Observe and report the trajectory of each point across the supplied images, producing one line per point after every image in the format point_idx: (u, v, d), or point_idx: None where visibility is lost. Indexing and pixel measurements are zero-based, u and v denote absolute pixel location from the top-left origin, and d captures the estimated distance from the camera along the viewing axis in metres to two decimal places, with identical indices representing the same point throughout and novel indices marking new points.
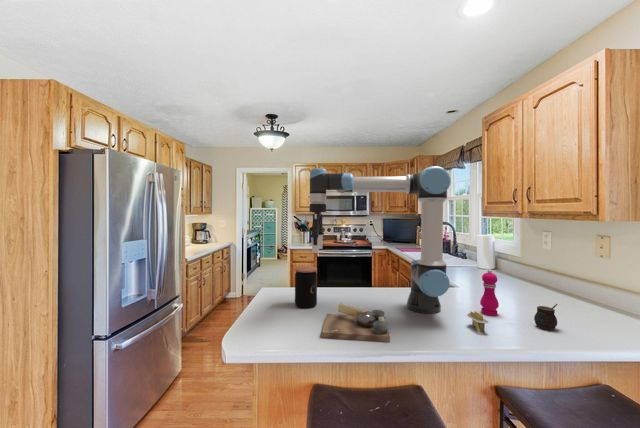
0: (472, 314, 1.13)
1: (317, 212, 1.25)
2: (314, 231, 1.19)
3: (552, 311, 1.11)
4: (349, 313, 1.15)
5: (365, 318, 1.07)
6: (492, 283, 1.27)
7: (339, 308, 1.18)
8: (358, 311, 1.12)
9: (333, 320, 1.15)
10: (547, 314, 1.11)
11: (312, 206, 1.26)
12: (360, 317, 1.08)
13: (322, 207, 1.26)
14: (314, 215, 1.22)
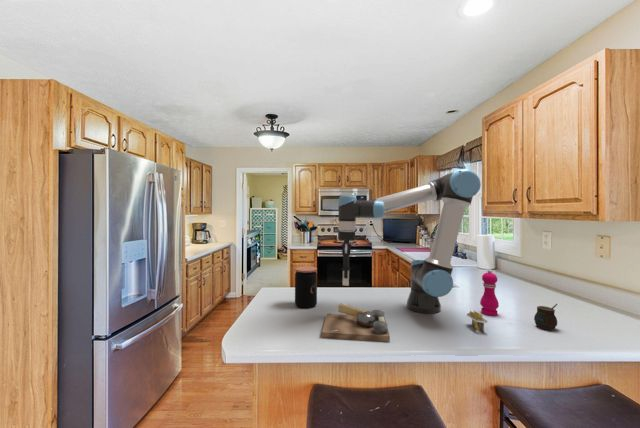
0: (471, 314, 1.14)
1: (347, 241, 1.21)
2: (345, 266, 1.21)
3: (552, 311, 1.11)
4: (349, 313, 1.15)
5: (365, 318, 1.07)
6: (492, 283, 1.27)
7: (339, 308, 1.18)
8: (358, 311, 1.12)
9: (333, 320, 1.15)
10: (547, 314, 1.11)
11: (341, 234, 1.22)
12: (360, 317, 1.08)
13: (352, 235, 1.21)
14: (344, 250, 1.18)
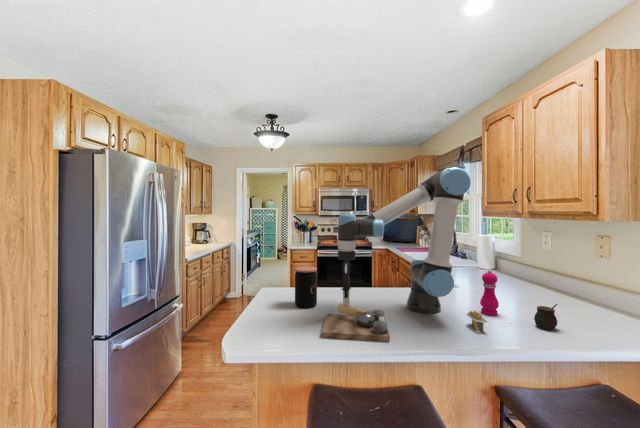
0: (471, 313, 1.14)
1: (347, 261, 1.20)
2: (345, 286, 1.20)
3: (552, 311, 1.11)
4: (349, 313, 1.15)
5: (365, 318, 1.07)
6: (492, 283, 1.27)
7: (339, 308, 1.18)
8: (358, 311, 1.12)
9: (333, 320, 1.15)
10: (547, 314, 1.11)
11: (341, 254, 1.21)
12: (360, 317, 1.08)
13: (352, 255, 1.21)
14: (344, 271, 1.18)
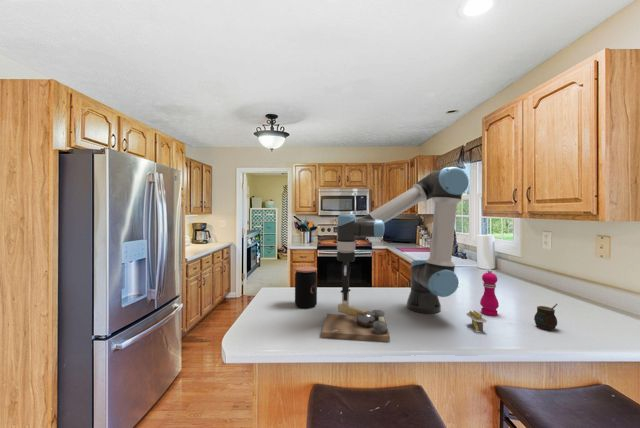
0: (471, 313, 1.14)
1: (346, 262, 1.16)
2: (344, 288, 1.16)
3: (552, 311, 1.11)
4: (349, 313, 1.15)
5: (365, 318, 1.07)
6: (492, 283, 1.27)
7: (339, 308, 1.18)
8: (358, 311, 1.12)
9: (333, 320, 1.15)
10: (547, 314, 1.11)
11: (340, 255, 1.17)
12: (360, 317, 1.08)
13: (352, 256, 1.16)
14: (343, 273, 1.14)
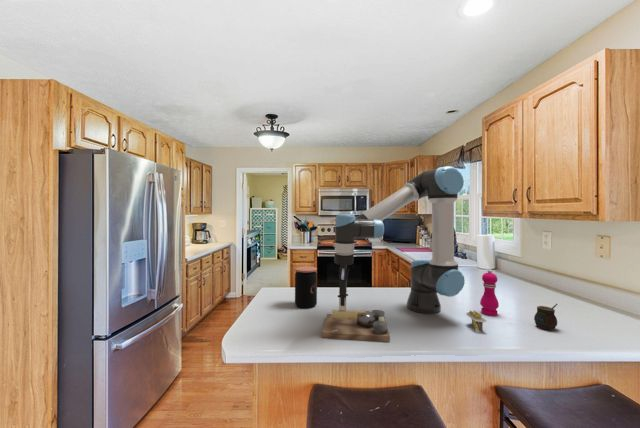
0: (471, 313, 1.15)
1: (344, 265, 1.08)
2: (342, 293, 1.09)
3: (552, 311, 1.11)
4: (347, 317, 1.10)
5: (371, 318, 1.08)
6: (492, 283, 1.27)
7: (334, 315, 1.11)
8: (358, 313, 1.10)
9: (333, 320, 1.15)
10: (547, 314, 1.11)
11: (338, 258, 1.09)
12: (366, 318, 1.07)
13: (350, 259, 1.09)
14: (341, 277, 1.06)
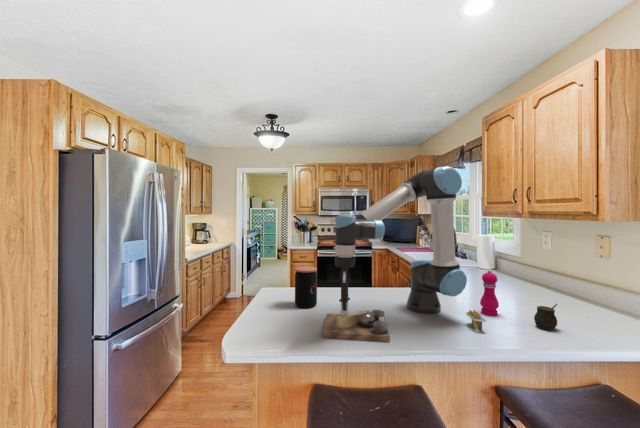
0: (471, 313, 1.15)
1: (345, 268, 1.04)
2: (344, 297, 1.04)
3: (552, 311, 1.11)
4: (352, 321, 1.06)
5: (374, 316, 1.09)
6: (492, 283, 1.27)
7: (340, 322, 1.04)
8: (361, 314, 1.09)
9: (333, 320, 1.15)
10: (547, 314, 1.11)
11: (339, 260, 1.05)
12: (371, 318, 1.08)
13: (351, 262, 1.05)
14: (342, 280, 1.02)
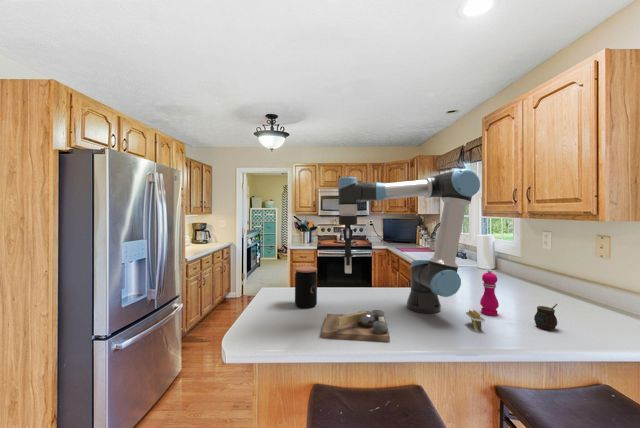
0: (470, 312, 1.15)
1: (348, 225, 1.13)
2: (347, 252, 1.13)
3: (552, 311, 1.11)
4: (352, 321, 1.06)
5: (374, 316, 1.09)
6: (492, 283, 1.27)
7: (340, 322, 1.04)
8: (361, 314, 1.09)
9: (333, 320, 1.15)
10: (547, 314, 1.11)
11: (342, 218, 1.14)
12: (371, 318, 1.08)
13: (354, 219, 1.14)
14: (346, 235, 1.11)
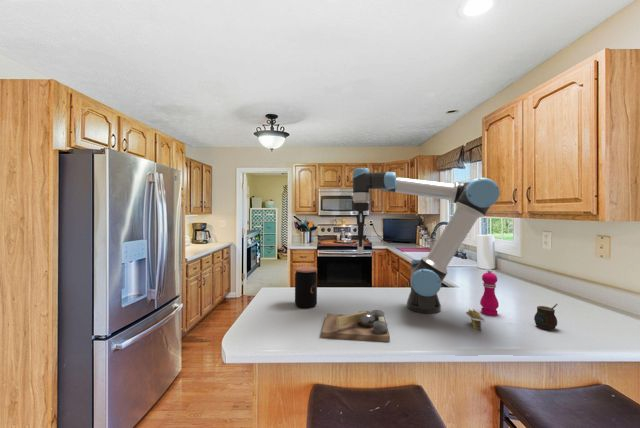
0: (470, 312, 1.16)
1: (361, 211, 1.28)
2: (360, 234, 1.28)
3: (552, 311, 1.11)
4: (352, 321, 1.06)
5: (374, 316, 1.09)
6: (492, 283, 1.27)
7: (340, 322, 1.04)
8: (361, 314, 1.09)
9: (333, 320, 1.15)
10: (547, 314, 1.11)
11: (356, 205, 1.29)
12: (371, 318, 1.08)
13: (366, 206, 1.28)
14: (359, 219, 1.26)
